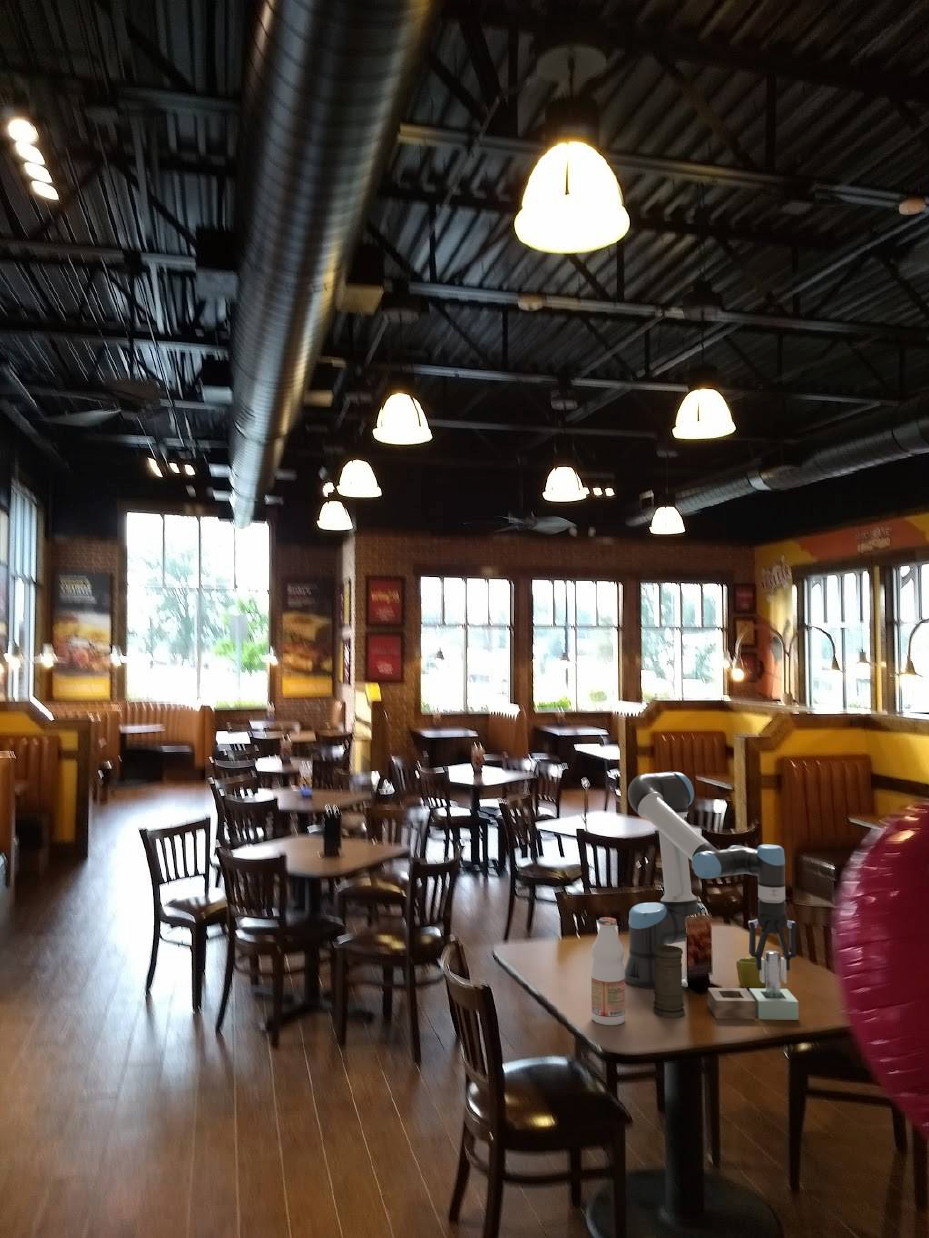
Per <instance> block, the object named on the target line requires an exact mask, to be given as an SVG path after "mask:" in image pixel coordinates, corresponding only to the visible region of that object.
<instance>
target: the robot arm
mask: <svg viewBox="0 0 929 1238" xmlns="http://www.w3.org/2000/svg"><path fill="white" fill-rule="evenodd" d="M694 796H695V791H694V787H693V784H692V781H691V780H690V779H689V778H688V777H687V776H686V775H685V774H684V773H682V772H679V771H665V772H664V771H663V772H653V773H652V772H651V773H649V772H648V773H643V774H639V775H637V776H636V777H634V778H633V779H632V781H631V782H630V784H629V785H628V789H627V798H628V802H629V804H630V807H631V808H632V809H633V811H635V813H636V814H637V815H638V816H639V817H641V819H647V820H648V821H649V822H651V824H652V825H653V826H655V828H657V829H658V836H659V846H660V847H659V848H660V856H661V857H660V858H661V859H660V860H661V869H662V878H663V879H662V880H663V888H664V895H663V896H662V897H661V898H660V902H655V901H654V902H643V903H641V902H640V903H637V904H636V905H634V906H632V907H631V908H630V910H629V912H628V923H627V924H628V939H629V940H628V946H629V947H628V950H629V951H628V952H629V953H628V958H627V962H626V965H625V966H624V969H625V984H628V985H631V986H633V987H637V988H644V989H645V988H646V989H655V965H654V962H655V956H654V952H653V949H654V947H656V946H661V945H672V944H677V943H683V942H686V938H687V933H686V927H685V917H687V916H688V915H694V914H696V913H698V912H700V911H701V909H702V908H703V909H702V911H703V912H704V913H706V910H705V909H704V907H703V906H702V904H701V903H699V902H698V898H697V896H696V895H694V894H693V893H692V885H691V884H692V882H691V874H690V866H689V865H690V862H689V860H690V861H691V868H692V870H693V872H694V874H695V875H696V876H697V878H700V879H709V880H710V879H711V880H712V879H716V878H722V877H728V876H735V875H736V876H737V875H743V874H747V875H751V876H756V877H757V897H758V901H757V902H758V905H757V907H758V908H757V910H758V911H757V912H758V914H757V917H756V918H755V919H753V920H751V919H750V920H749V919H748V921H747V924H748V928H749V937H748V939H749V940H748V941H749V942H748V943H749V944H748V951H749V953H748V954H749V955H750V956H751V958H756V968H757V970H760V981H761V982H762V983H765V969H764V957H763V956H764V955H763V954H764V951H765V947H766V943H767V940H768V937H769V935H770V934H776V936H777V938H778V942H779V945H780V949H781V952H782V956H783V957H782V956H780V981H781V982H782V983H783V984H787V981H788V980H787V972H789V971H790V969H791V967H790V966H791V965H790V961H791V959H792V958H796V957H797V945H796V943H797V942H796V940H797V939H796V929H797V925H798V924H797V923H796V921H794V920H788V918H787V915H786V914H787V913H786V910H787V909H786V901H785V900H786V877H785V876H786V873H785V872H786V859H785V858H786V857H785V849H784V848H783V847H782V846H781V845H778V844H771V843H770V844H764V843H763V844H760V845H758V846H757V848H751V847H747V846H744V845H736V844H733V845H730V846H729V847H728V848H726V849H717V848H716V847H714V845H712V844H711V843H710V842H709V841H708V840H707V839H706V838H704V836H702V835H701V834H700V833H699V832H698V831H697V830H696V829H695V828H693V826H691V824H689V823H688V822H687V821H686V820H685V817H686V816H687V815H688V813H689V806H690V805H691V804H692V803H693V800H694V799H695V797H694ZM758 925H759V926H760V927H761V930H760V937H759V940H758V943H757V948H756V939H757V930H756V929H757V927H758ZM786 926H787V928H788V930H787V932H788V942H789V943H788V946H787V943H786V940H785V934H784V932H783V929H784V928H785V927H786ZM788 947H789V950H788Z"/></svg>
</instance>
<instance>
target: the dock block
mask: <svg viewBox="0 0 929 1238" xmlns="http://www.w3.org/2000/svg"><path fill="white" fill-rule="evenodd" d="M748 990H749V991H748V992H749V993H750V995H751V996H752V997H753V999H754V1000H755V1017H757V1018H758V1020H779V1021H780V1020H785V1021H786V1020H787V1021H789V1020H791V1021H792V1020H793V1021H794V1020H795V1021H796V1020H797V1021H800V1020H799V1016H800V1015H799V1014H800V1013H799V1001H798V1000H797V998H796V997H795V996H794V995H793V994H792V993H791V991H790V990H789V989H788V988H780V993H781V999H780V998H766V988H762V989H759V988H749V989H748Z"/></svg>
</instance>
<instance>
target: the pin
mask: <svg viewBox="0 0 929 1238" xmlns="http://www.w3.org/2000/svg"><path fill="white" fill-rule="evenodd" d="M764 954H765V955H764V958H765V968H766V988H765V989H766V998H780V999H781V993H780V989H781V956H780V952H779V951H776V950H765V952H764Z"/></svg>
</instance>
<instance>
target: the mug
mask: <svg viewBox="0 0 929 1238" xmlns="http://www.w3.org/2000/svg"><path fill="white" fill-rule="evenodd" d="M763 959H764V958H763ZM764 969H765V983H762V982H761V981H760V970H757V968H756V958H755V957H750V956H744V957H742V958H738V959H737V960H736V972H737V977H738V984H739V985H740V986H741V987H740V988H746V989H747V990H749V988H759V989H766V968H765V959H764Z"/></svg>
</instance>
